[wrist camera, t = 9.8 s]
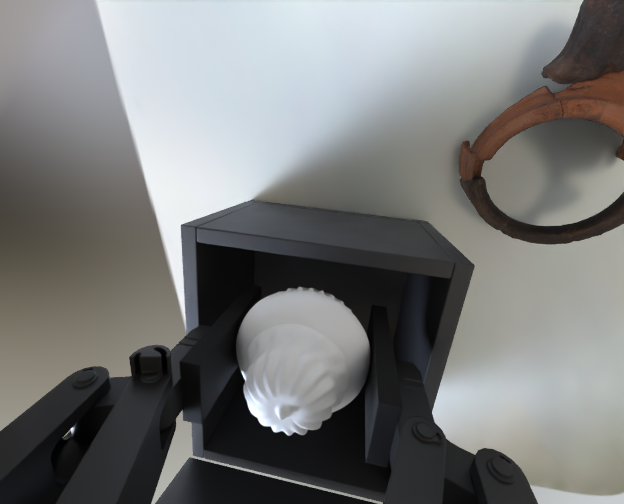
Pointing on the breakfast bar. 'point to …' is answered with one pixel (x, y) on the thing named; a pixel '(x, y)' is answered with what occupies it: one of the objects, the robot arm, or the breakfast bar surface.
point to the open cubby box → (344, 286)
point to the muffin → (301, 358)
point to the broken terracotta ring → (566, 104)
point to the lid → (240, 488)
